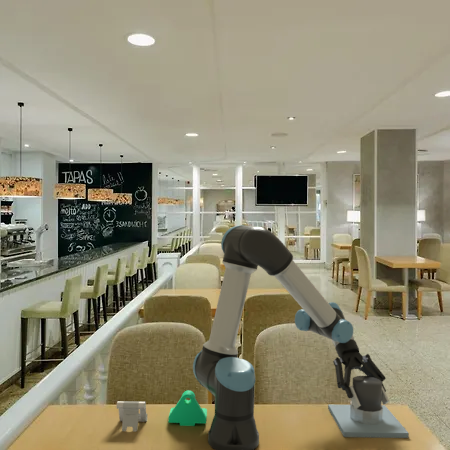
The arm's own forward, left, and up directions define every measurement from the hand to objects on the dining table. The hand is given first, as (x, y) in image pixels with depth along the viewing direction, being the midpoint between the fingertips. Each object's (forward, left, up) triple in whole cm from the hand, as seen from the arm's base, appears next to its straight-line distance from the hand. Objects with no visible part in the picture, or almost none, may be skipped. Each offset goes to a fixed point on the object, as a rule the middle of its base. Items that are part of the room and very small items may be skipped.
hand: (372, 405), depth 149 cm
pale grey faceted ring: (-3, +1, -5) cm, 6 cm away
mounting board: (-3, +1, -7) cm, 8 cm away
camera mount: (-44, -40, -7) cm, 60 cm away
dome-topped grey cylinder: (-3, +1, -5) cm, 6 cm away
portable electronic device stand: (-53, -55, -7) cm, 77 cm away
